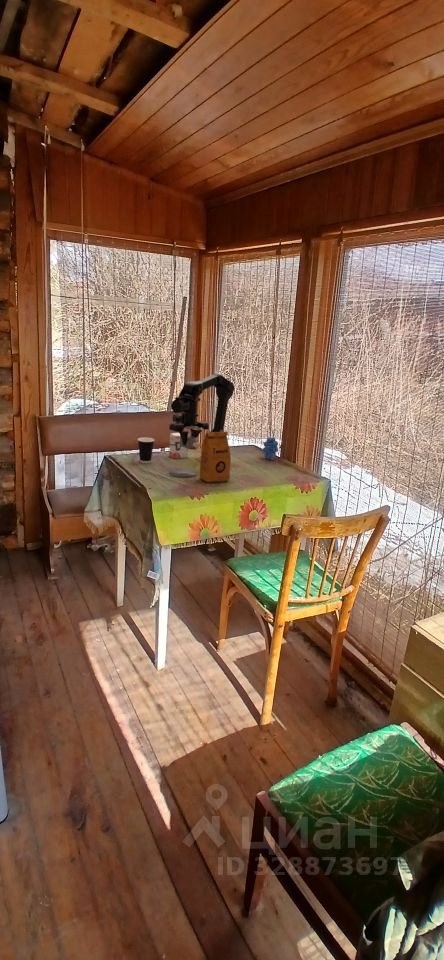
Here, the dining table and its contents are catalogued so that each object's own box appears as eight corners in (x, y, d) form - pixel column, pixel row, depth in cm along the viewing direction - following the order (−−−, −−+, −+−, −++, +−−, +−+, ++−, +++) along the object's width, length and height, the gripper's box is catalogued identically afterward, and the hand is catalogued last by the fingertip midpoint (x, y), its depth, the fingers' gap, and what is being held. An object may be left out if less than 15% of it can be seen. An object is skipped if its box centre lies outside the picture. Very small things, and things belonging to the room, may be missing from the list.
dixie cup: (155, 463, 264) (156, 441, 260) (139, 464, 260) (140, 441, 257) (151, 459, 270) (151, 437, 267) (135, 459, 267) (135, 437, 264)
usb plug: (184, 444, 258) (185, 433, 257) (201, 450, 249) (202, 439, 248) (177, 445, 256) (178, 434, 254) (194, 451, 247) (195, 440, 245)
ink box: (173, 458, 274) (174, 435, 271) (168, 456, 278) (169, 433, 275) (188, 457, 279) (189, 434, 275) (183, 454, 283) (184, 432, 279)
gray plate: (185, 468, 259) (185, 466, 259) (201, 475, 251) (201, 473, 251) (164, 471, 252) (164, 470, 251) (180, 479, 243) (180, 477, 243)
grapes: (282, 461, 283) (285, 438, 280) (272, 462, 280) (274, 439, 276) (269, 455, 293) (271, 433, 289) (259, 456, 289) (261, 434, 286)
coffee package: (232, 482, 243) (235, 433, 237) (206, 484, 238) (209, 434, 231) (222, 476, 252) (225, 428, 245) (197, 478, 246) (200, 429, 240)
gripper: (195, 407, 260) (193, 439, 265) (163, 408, 248) (161, 442, 253) (210, 411, 252) (208, 444, 257) (177, 413, 240) (175, 448, 245)
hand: (188, 444), depth 253 cm, fingers closed on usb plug, 4 cm apart
